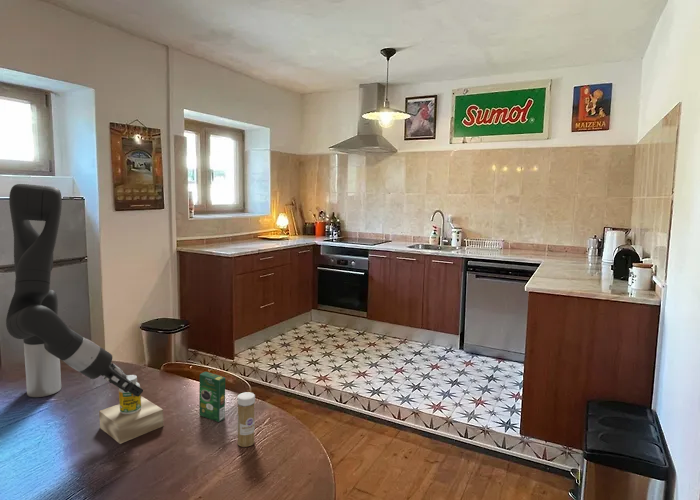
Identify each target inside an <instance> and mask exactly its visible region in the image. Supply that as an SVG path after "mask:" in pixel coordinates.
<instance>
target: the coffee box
mask: <svg viewBox="0 0 700 500" xmlns="http://www.w3.org/2000/svg"><path fill="white" fill-rule="evenodd" d="M198 403H199V410H198V411H199V412H198V413H199V416H200V417H202V418H207V419H209V420H212V421H213V422H217V423H220V422H221V421H223V420H225V419H226V418H225V417H226V415H225V414H226V377H224V376H222V375H218V374H215V373H212V372H209V371H204V372H201V373H200V374H199V402H198Z"/></svg>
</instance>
